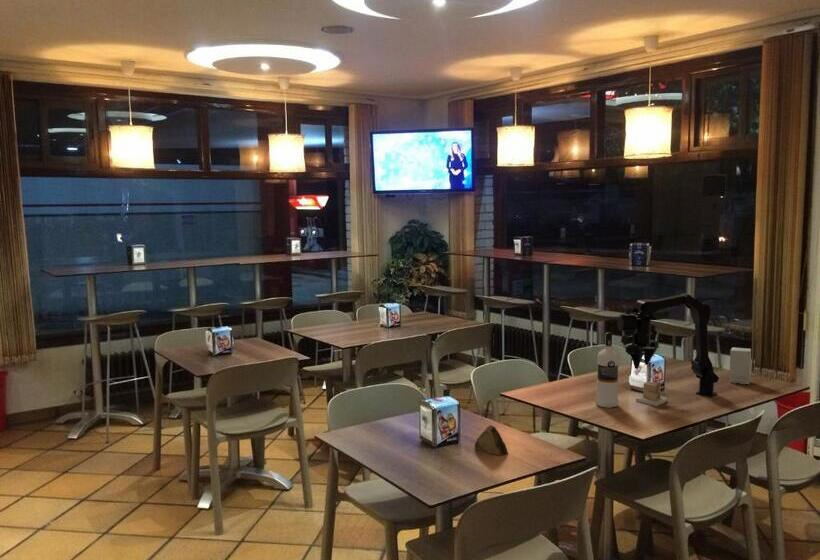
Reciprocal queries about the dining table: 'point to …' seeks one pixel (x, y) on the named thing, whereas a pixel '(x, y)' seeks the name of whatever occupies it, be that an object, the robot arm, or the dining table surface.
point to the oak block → (651, 390)
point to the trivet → (651, 402)
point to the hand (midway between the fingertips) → (641, 366)
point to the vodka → (607, 375)
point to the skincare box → (740, 365)
